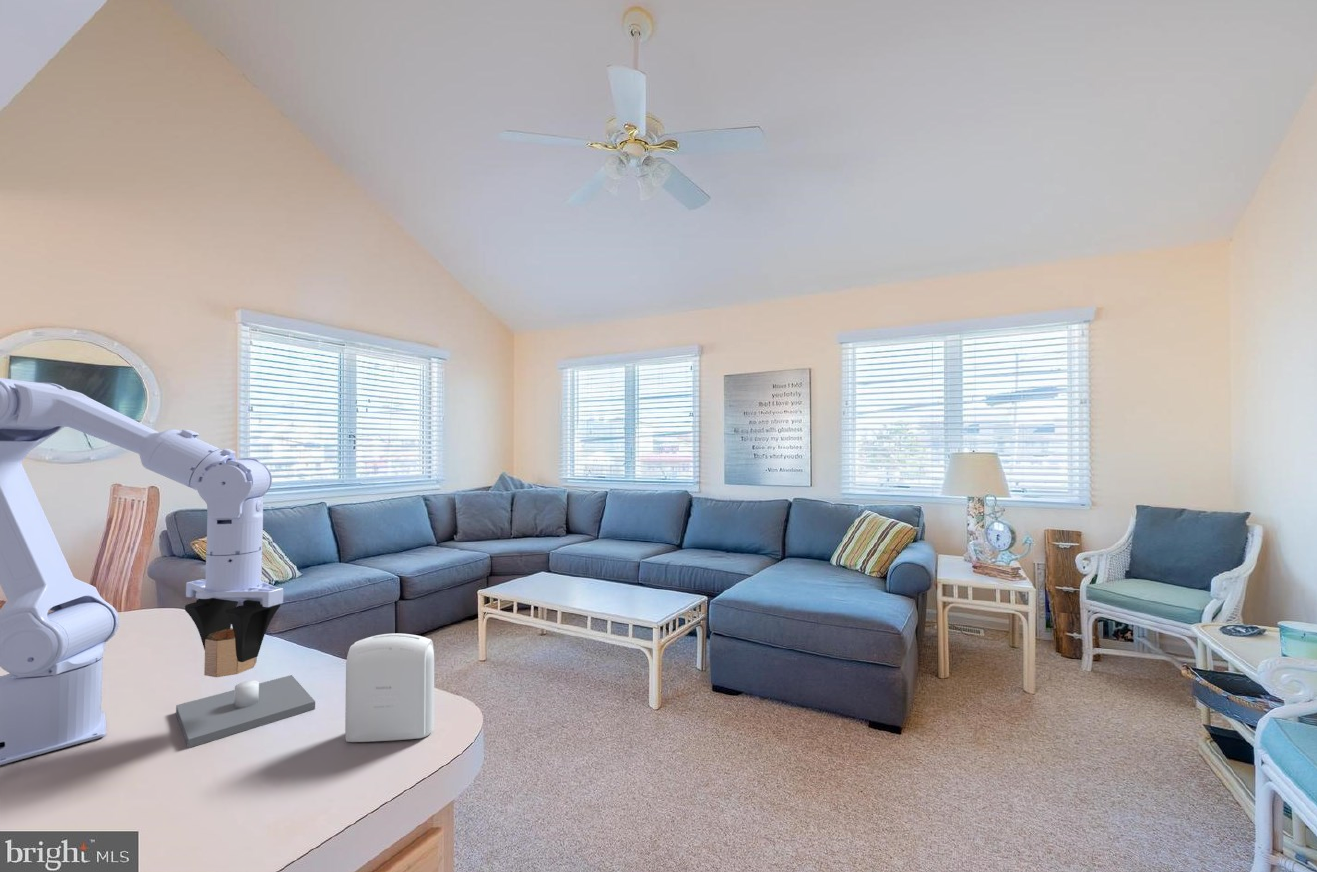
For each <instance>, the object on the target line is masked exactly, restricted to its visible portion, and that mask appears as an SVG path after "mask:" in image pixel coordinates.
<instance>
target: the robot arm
mask: <svg viewBox="0 0 1317 872" xmlns="http://www.w3.org/2000/svg"><path fill="white" fill-rule="evenodd" d="M65 427H66V428H67V427H68V428H70V429H73V430H76V431H77V432H80V433H84V434H86V435H88V436H91V437H94V438H97V439H99V440H101V441H104V442H107V443H110V444H113V445H115V446H117V447H120V448H122V449H125V450H128V451H130V452H133V453H136V454H138V456H139V459H140V463H141V466H143V467H144V468H145V469H146V470H149V471H151V472H154V473H156V474H158V475H160V476H163V477H165V478H167V479H169V480H172V481H174V482H177V483H179V484H181V485H184V486H186V487H188V488H190V489H193V490H195V491H197V493H198V494H199V496H200V498H201V499H202V500H203V501H204V502H205V504H206V507H207V508H206V509H207V511H206V514H207V519H206V520H207V521H206V524H207V525H206V550H205V551H206V552H205V553H206V555H205V579H203V578H201V579H197V580H192V581H187V582H186V583H185V584H186V585H185V598H195V599H196V601H195V602H190V603H188V604H186V605H185V606H184V610H185V612H186V613H187V614H188V616H189V617H190V618H191V620H192V621H193V623H194V625H195V627H196V629H197V631H198V634H199V638H200V640H201V642H202V646H203V651H205V639H206V638H207V636H208V635H209V634H211V633H215V632H218V631H221V630H224V629H229V628H233V630H234V635H235V646H236V656H237V659H238V662H244V661H247V660H250V659H252V658H255V657H258V656H259V653H260V650H261V647H262V644H263V640H264V637H265V635H266V633H267V629H268V627H269V625H270V623H271V621H272V620H273V618H274V616H275V615H276V613H277V611H278V610H279V609H280V607H281V604H284V588H283V587H278V586H275V585H272V584H270V583H267V582H265V581H263V580H262V577H263V576H262V573H263V572H262V568H263V561H262V560H263V539H264V538H263V536H264V533H263V532H264V495H266V494H267V493H268V492H269V490H270V489H271V486H272V484H273V476H272V473H271V471H270V469H269V468H268V467H267V465H266V464H264V463H262V462H260V460H258V459H257V458H255V457H242V458H237V456H236V450H233V449H231V448H224V449H221V448H219V447H216V446H215V445H213V444H210V443H208V442H206V441H203V440H202V439H200V438H199V436H200V433H198V432H196V431H194V430H191V429H182V430H179V429H167V430H164V431H160V432H159V431H158V430H155V429H153V428H151V427H150V426H147V425H145V424H143V423H142V422H141V423H140V422H139V421H137V420H135V419H133V418H131V417H130V416H127V415H125V414H123V413H121V412H118V411H117V410H114V409H113V408H112V407H109V406H107V405H104V404H103V403H101V402H99V401H96V400H94V399H92V398H91V397H89V396H88V395H86V394H84V393H82V392H79V391H76V390H71V389H67V388H66V387H64V386H62V385H60V384H57V383H54V382H42V381H40V382H36V381H27V380H20V379H11V378H6V377H0V587H1V589H2V592H3V594H4V596H5V598H6V601H5V602H4V604H3V605H2V606H1V608H0V668H1V669H2V670H4V671H5V672H7V673H8V674H3V675H0V766H1V765H2V766H3V765H6V764H10V763H13V762H17V761H20V760H23V759H28V758H31V757H34V756H38V755H42V754H46V753H49V752H53V751H58V750H60V749H64V748H68V747H71V746H75V745H79V744H82V743H86V742H89V741H94V740H96V739H100V738H101V739H102V738H103V737H105V736H106V735H107V725H106V723H107V722H106V716H105V715H106V713H105V711H103V710H102V701H103V700H102V699H103V696H102V695H103V669H104V667H103V665H104V653H105V652H106V643H107V642H108V641H110V640H111V639H112V638H113V637H114V636H115V634H116V632H117V631H118V629H119V627H120V618H119V614H118V611H117V610H116V608H115V607H114V606H113V605H112V604H111V603H109V602H107V601H106V600H105V599H104V598H103V597H102V595H100V593H99V591H98V589H97V587H95V585H91V584H89V583H88V582H85V581H83V580H79V579H77V578H75V577H74V575H73V573H72V570H71V568H70V566H69V564H68V562H67V560H66V557H65V555H64V554H63V552H62V549H61V546H60V544H59V541H58V540H57V537H56V536H55V533H54V530H53V529H52V526H51V525H50V523H49V521H48V520H49V519H47V516H46V513H45V512H44V510H43V508H42V505H41V503H40V500H39V499H38V496H37V495H36V491H35V490H34V488H33V486H32V483H31V481H30V479H29V476H28V475H27V472H26V471H25V468H24V466H23V464H22V463H23V461H24V459H25V458H26V457H27V456H28V454H29V453H30V452H31V451H32V450H34V449H35V448H36V447H38V446H39V445H41V444H42V443H44V442H45V441H46V440H48V439H50V438H51V437H52V436H53V435H55V434H57V433H59V432H60V431H61V430H62V429H64V428H65ZM239 602H240V603H243V604H241V605H238V603H239ZM49 611H50V612H49Z"/></svg>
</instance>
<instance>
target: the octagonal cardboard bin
mask: <svg viewBox="0 0 1317 872" xmlns="http://www.w3.org/2000/svg"><path fill="white" fill-rule="evenodd" d="M257 657H258V656H257ZM257 657H255V658H252V659H250V660H247V661H244V662H238V659H237V656H236V646H235V635H234V630H233V627H231V628H229V629H224V630H221V631H218V632H215V633H211V634H209V635H208V636H207V638H206V639H205V650H204V670H203V671H204V673H203V675H204V676H207V677H210V678H211V677H212V678H222V677H228V676H234V675H239V674H242V673H244V672H246V671H248V670H251V669H254V668H255V666H256V663H257V661H258V660H257Z"/></svg>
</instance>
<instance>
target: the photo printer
mask: <svg viewBox="0 0 1317 872" xmlns="http://www.w3.org/2000/svg"><path fill="white" fill-rule="evenodd" d="M344 712H345V716H344V717H345V720H344V721H345V722H344V724H345V727H344V728H345V729H344V730H345V733H344V735H345V741H346V742H347V743H366V742H385V741H389V742H390V741H403V740H414V739H423V738H426V737H427V736H429V735H431V734H432V732H433V731H434V728H435V651H434V642H433V640H432V639H431V638H428V637H424V636H421V635H416V634H410V633H394V632H393V633H384V634H377V635H372V636H370V637H366V638H362V639H359V640H357V641H355V642H354V643H353V644H352V645H350V647H349V650H348V652H347V657H346V661H345V711H344Z"/></svg>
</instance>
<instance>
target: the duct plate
mask: <svg viewBox="0 0 1317 872" xmlns="http://www.w3.org/2000/svg"><path fill="white" fill-rule="evenodd" d="M315 709H316V701H315V699H314V698H313V697H312V696H311V695H310V694H309V693H308V691H307V690H306V689H305V688H304V687H303V685H301V683H300V682H299V681H298V680H297V679H296V678H295V677H294V676H293V675H292V674H291V675H286V676H282V677H278V678H275V679H270V680H268V681H263V682H260V681H259V680H246V681H243V682H240V683H239V682H238V683H237V684H236V685H234V689H233V690H230V691H226V692H222V693H217V694H214V695H210V696H207V697H202V698H199V699H195V700H191V701H186V702H182V703H179V704H175V714H176V717H177V719H178V721H179V725H180V728H181V731H182V734H183V736H184V740H185V742H186V745H187V748H188V749H190V748H193V747H196V746H199V745H202V744H207V743H210V742H213V741H215V740H219V739H222V738H225V737H229V736H232V735H235V734H238V733H242V732H245V731H248V730H251V729H255V728H258V727H260V726H263V725H267V724H271V723H274V722H276V721H277V722H278V721H280V720H283V719H286V718H290V717H292V716H296V715H299V714H302V713H306V712H308V711H309V712H310V711H312V710H315Z"/></svg>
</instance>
